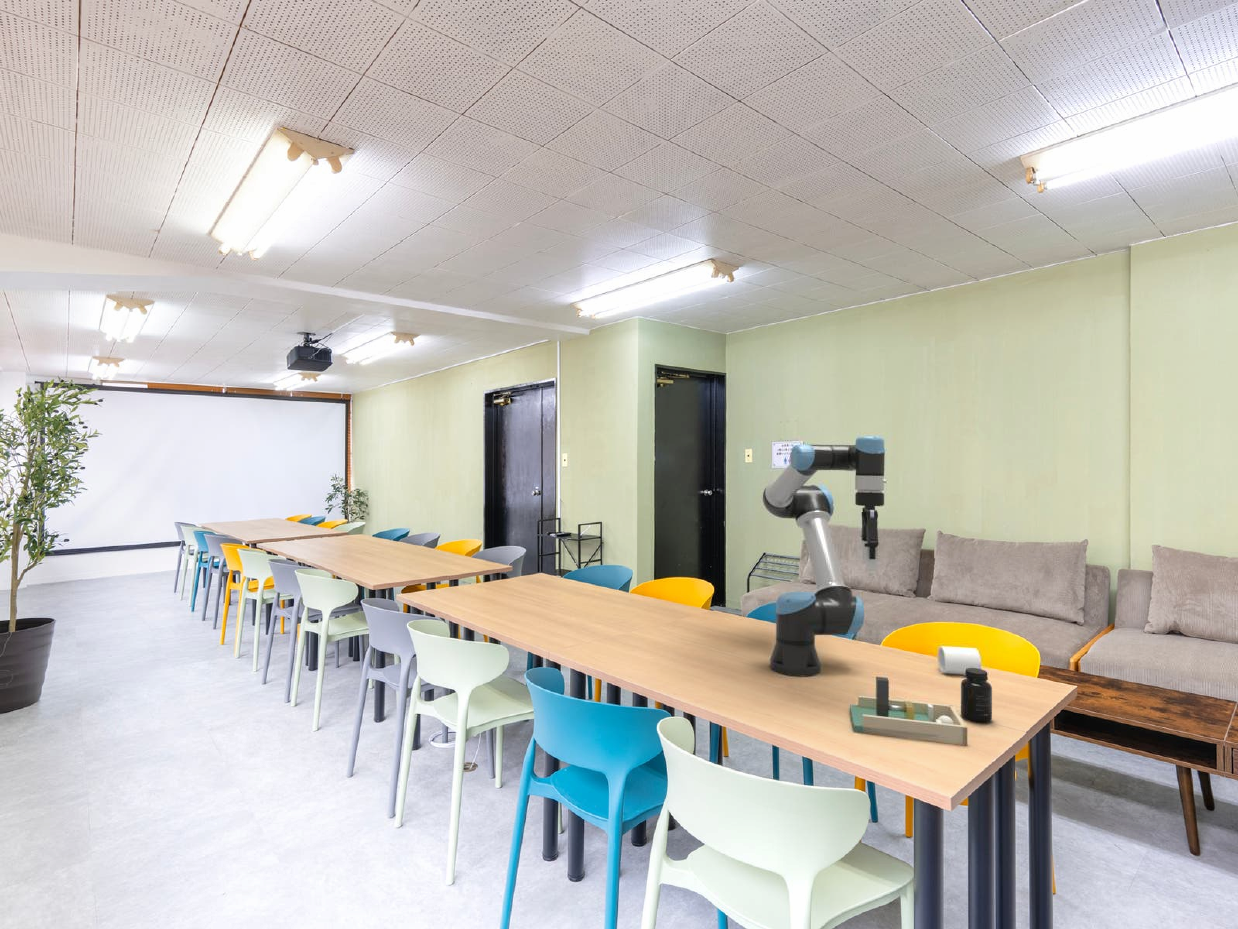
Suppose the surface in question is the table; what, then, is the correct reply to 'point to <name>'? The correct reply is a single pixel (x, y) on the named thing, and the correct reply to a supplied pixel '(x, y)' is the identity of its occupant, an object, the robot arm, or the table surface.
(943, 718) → the ball
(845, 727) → the table surface
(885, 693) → the uneven dumbbell
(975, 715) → the supplement bottle
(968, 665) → the mug
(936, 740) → the pitch
